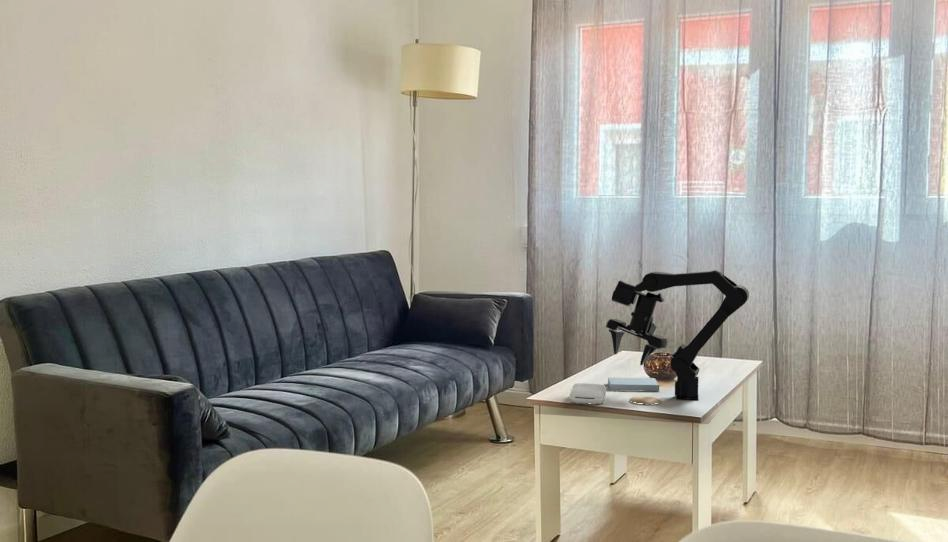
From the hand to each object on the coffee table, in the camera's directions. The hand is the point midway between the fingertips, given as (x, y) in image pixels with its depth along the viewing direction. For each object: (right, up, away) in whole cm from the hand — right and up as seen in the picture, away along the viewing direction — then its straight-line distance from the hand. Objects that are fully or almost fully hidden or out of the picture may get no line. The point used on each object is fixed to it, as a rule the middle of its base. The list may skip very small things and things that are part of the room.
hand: (628, 359), depth 283 cm
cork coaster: (+3, -11, -11) cm, 16 cm away
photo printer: (-12, -9, -4) cm, 16 cm away
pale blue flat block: (+3, -10, +10) cm, 14 cm away
